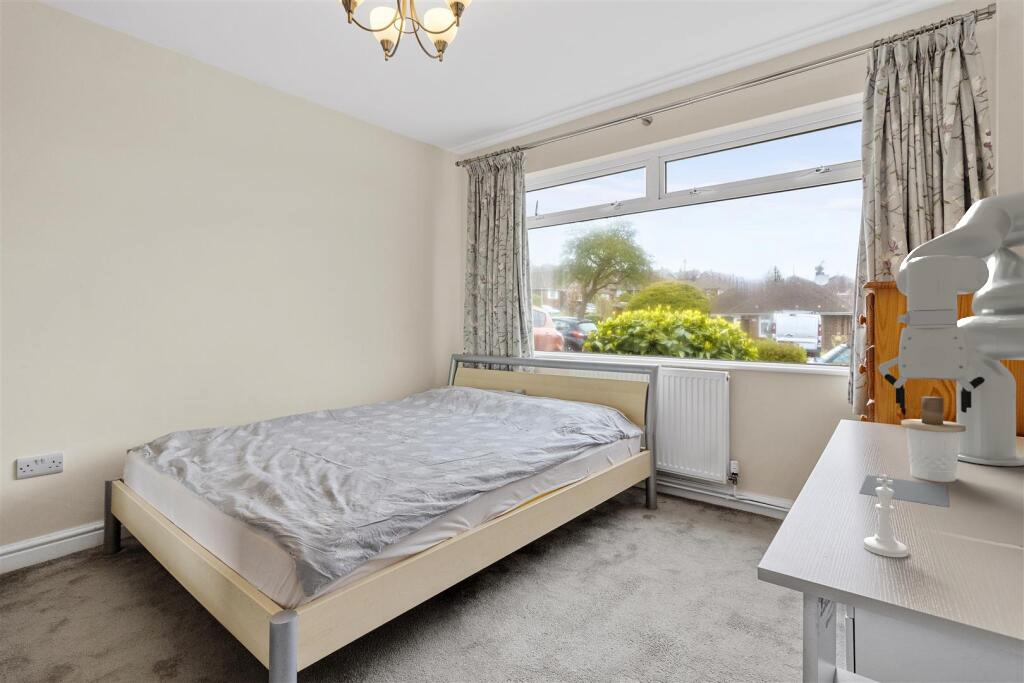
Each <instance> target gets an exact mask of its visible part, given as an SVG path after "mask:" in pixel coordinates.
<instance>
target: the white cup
mask: <svg viewBox="0 0 1024 683" xmlns="http://www.w3.org/2000/svg"><path fill="white" fill-rule="evenodd" d="M906 436H907V440H906V441H907V452H908V462H909V470H910V471H909V472H910V475H911V476H912V477H915V478H916V479H922V480H925V481H931V482H942V483H949V482H950V483H951V482H955V481H956V480H957V468H958V463H959V462H958V461H959V460H958V450H959V432H932V431H923V430H916V429H910V428H906Z"/></svg>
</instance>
